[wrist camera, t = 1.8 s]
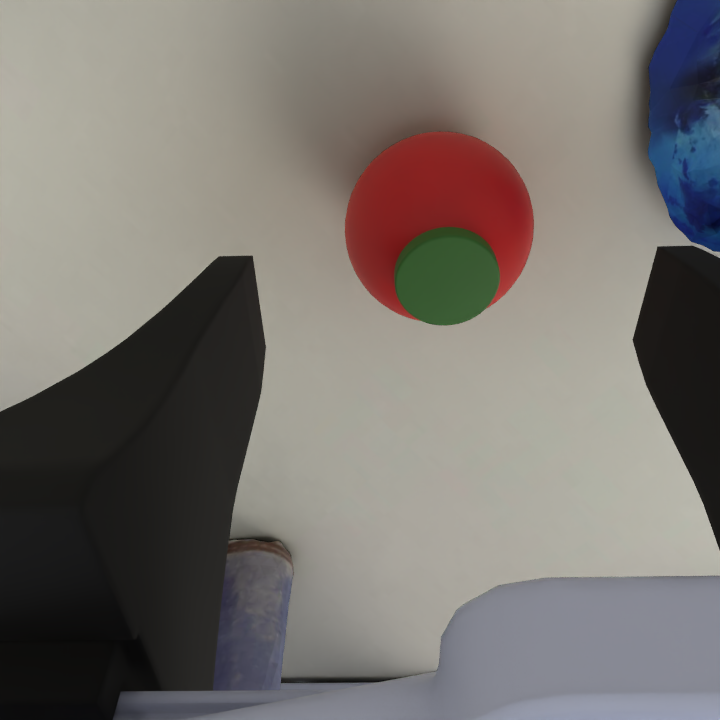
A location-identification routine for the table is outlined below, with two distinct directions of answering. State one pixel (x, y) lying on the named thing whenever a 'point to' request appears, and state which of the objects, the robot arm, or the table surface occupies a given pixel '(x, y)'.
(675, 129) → the rock
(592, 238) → the table surface
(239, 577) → the flask
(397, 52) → the table surface
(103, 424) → the robot arm
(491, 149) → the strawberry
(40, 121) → the table surface
